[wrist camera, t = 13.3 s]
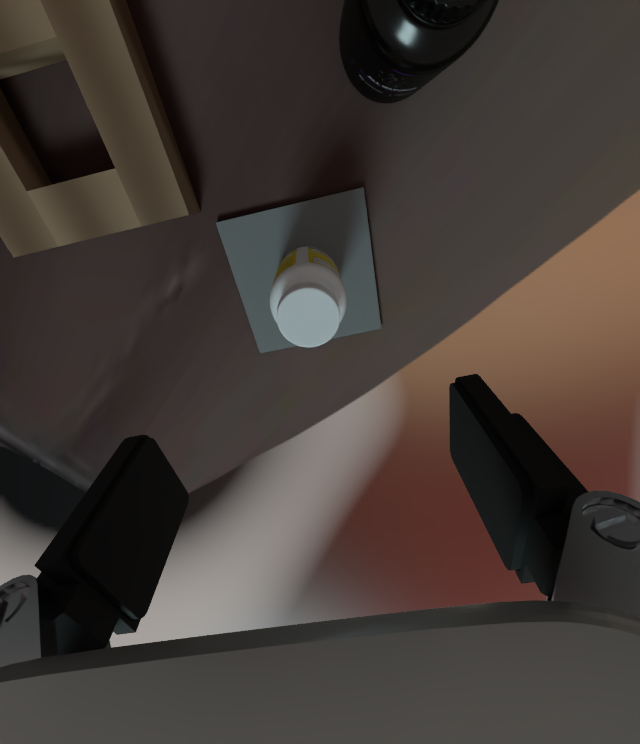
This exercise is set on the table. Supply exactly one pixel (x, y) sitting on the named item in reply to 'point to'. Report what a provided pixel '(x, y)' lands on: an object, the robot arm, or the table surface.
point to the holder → (112, 117)
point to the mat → (303, 229)
